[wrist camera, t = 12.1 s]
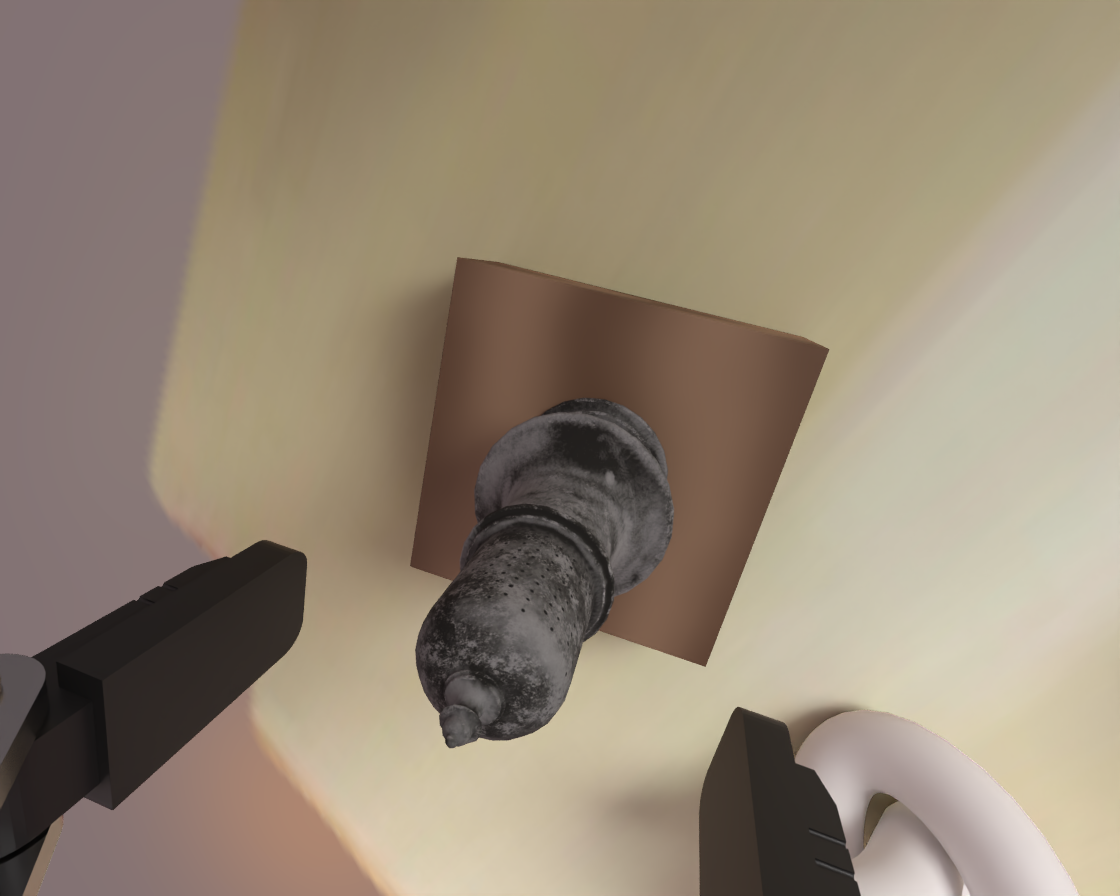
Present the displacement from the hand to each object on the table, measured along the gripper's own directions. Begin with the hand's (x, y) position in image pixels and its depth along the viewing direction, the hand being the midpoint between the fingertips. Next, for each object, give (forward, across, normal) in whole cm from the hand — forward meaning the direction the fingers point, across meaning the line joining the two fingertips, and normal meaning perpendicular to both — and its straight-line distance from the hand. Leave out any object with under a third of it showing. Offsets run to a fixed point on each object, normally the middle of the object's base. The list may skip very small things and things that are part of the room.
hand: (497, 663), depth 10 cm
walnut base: (+14, 0, 0) cm, 14 cm away
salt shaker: (+10, 0, 0) cm, 10 cm away
